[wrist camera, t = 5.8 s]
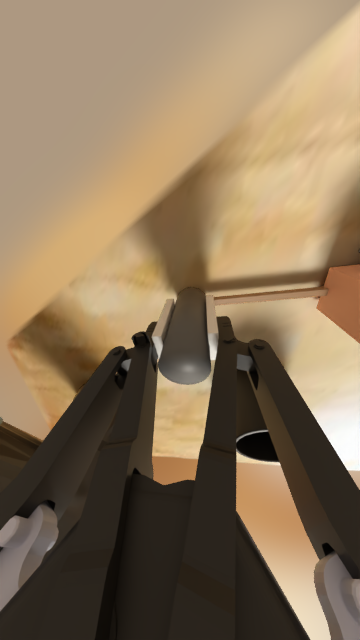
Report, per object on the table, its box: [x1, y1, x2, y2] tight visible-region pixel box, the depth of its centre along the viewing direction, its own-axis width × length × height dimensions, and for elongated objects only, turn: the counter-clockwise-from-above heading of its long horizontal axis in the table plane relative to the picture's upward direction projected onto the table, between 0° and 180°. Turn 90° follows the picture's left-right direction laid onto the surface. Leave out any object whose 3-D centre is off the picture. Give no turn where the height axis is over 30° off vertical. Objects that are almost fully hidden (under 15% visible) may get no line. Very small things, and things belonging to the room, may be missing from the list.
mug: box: [236, 369, 279, 462], centre depth 24 cm, size 9×12×9 cm
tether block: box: [158, 264, 360, 385], centre depth 14 cm, size 20×4×10 cm, turn 99°
